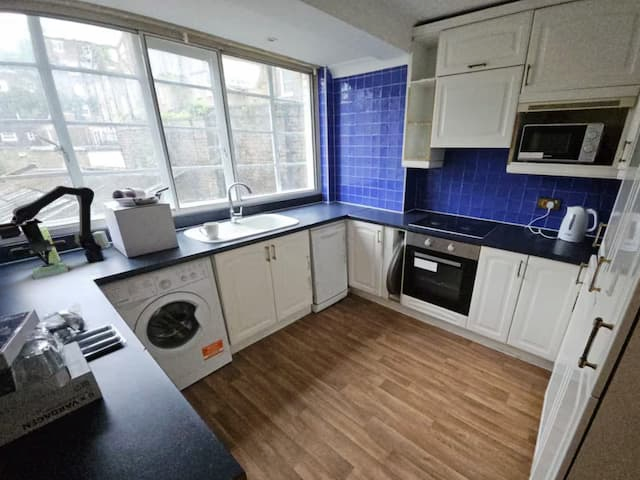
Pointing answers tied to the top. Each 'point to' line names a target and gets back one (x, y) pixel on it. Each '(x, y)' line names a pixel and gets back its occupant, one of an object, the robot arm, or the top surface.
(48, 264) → the pump head
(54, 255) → the tube
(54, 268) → the dispenser
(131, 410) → the top surface
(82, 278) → the top surface
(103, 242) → the cosmetics bottle
